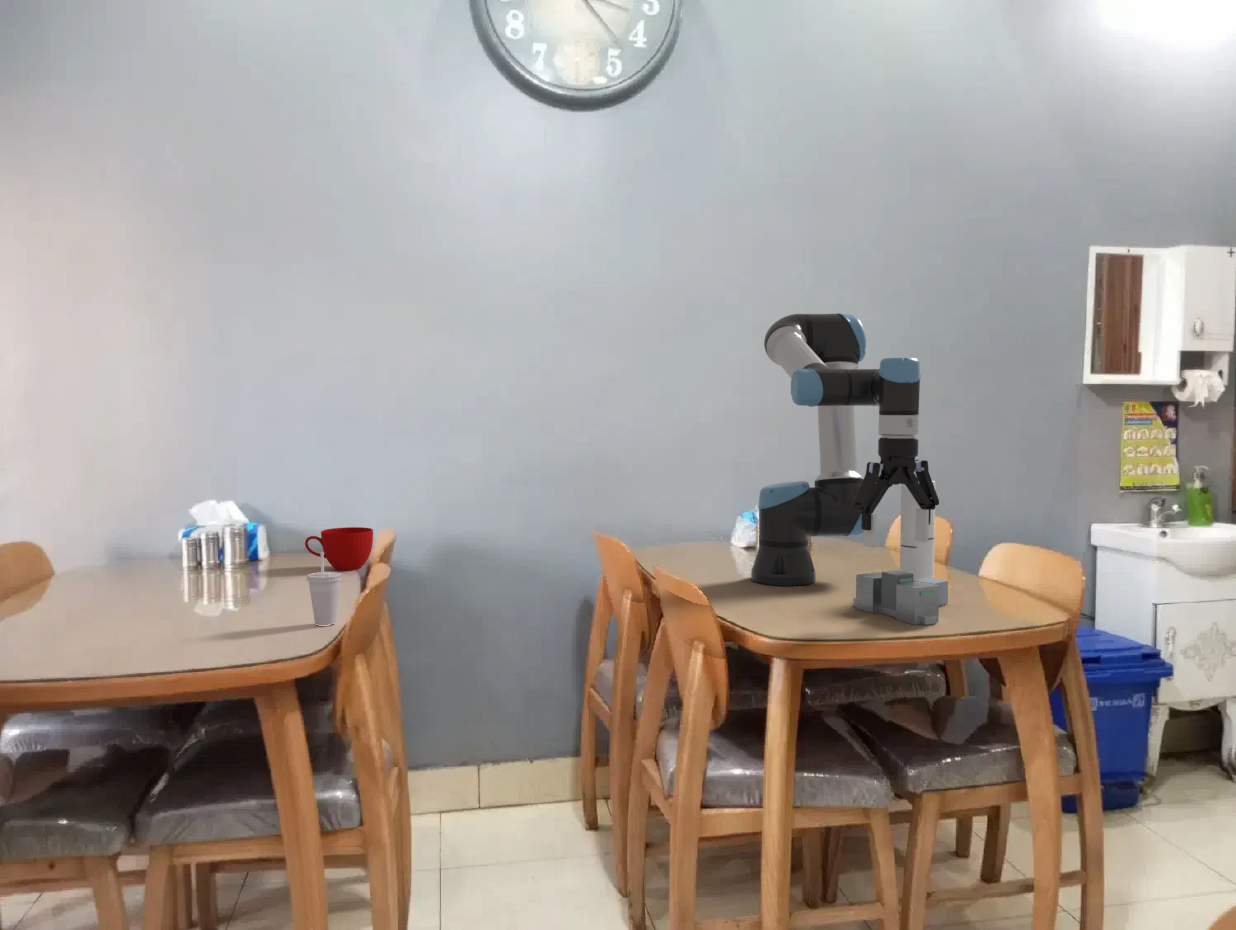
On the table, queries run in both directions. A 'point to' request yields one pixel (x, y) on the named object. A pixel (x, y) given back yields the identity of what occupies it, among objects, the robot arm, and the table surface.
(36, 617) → the table surface
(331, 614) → the smoothie
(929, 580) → the loose block slate
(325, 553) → the ceramic cup
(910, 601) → the grey stepped block assembly
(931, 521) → the cylindrical container
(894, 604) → the block
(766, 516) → the robot arm
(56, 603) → the table surface
